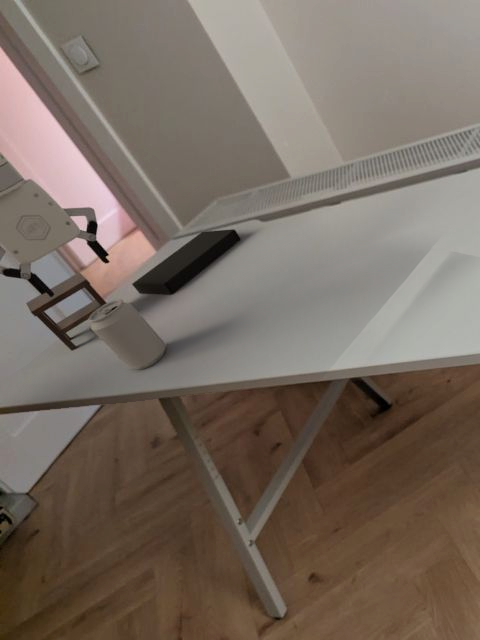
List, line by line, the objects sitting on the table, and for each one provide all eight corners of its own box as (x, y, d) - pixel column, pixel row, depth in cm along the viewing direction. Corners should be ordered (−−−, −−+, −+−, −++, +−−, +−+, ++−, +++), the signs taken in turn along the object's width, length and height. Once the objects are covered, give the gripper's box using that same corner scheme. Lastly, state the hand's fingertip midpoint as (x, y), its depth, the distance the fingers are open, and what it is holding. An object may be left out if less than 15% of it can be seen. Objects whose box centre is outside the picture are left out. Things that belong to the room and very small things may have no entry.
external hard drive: (139, 293, 131) (131, 283, 129) (208, 241, 145) (201, 231, 143) (172, 294, 123) (163, 284, 122) (241, 239, 137) (234, 229, 135)
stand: (70, 351, 117) (30, 312, 111) (64, 340, 123) (25, 303, 117) (122, 318, 122) (86, 279, 116) (113, 310, 128) (79, 272, 122)
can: (153, 369, 97) (106, 318, 90) (123, 375, 100) (75, 325, 93) (176, 342, 103) (133, 292, 96) (147, 348, 105) (103, 299, 98)
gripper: (-69, 217, 74) (31, 313, 85) (53, 157, 81) (132, 252, 92) (-68, 213, 80) (26, 303, 90) (46, 156, 87) (122, 246, 97)
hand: (79, 277), depth 91 cm, fingers open, 9 cm apart
